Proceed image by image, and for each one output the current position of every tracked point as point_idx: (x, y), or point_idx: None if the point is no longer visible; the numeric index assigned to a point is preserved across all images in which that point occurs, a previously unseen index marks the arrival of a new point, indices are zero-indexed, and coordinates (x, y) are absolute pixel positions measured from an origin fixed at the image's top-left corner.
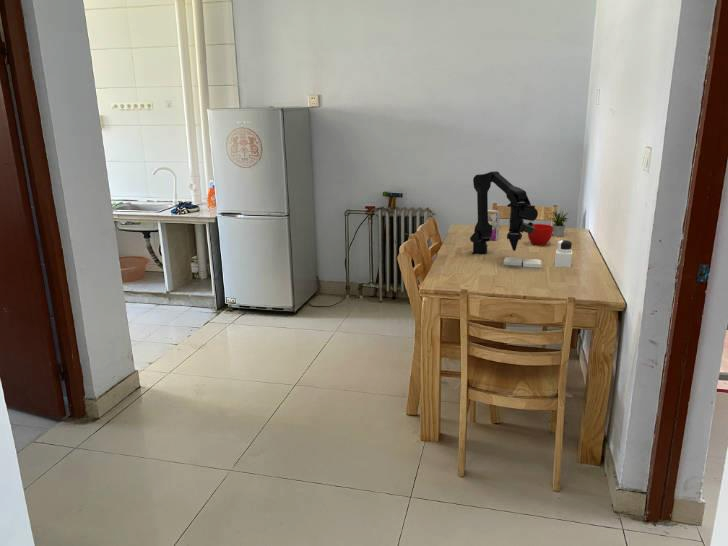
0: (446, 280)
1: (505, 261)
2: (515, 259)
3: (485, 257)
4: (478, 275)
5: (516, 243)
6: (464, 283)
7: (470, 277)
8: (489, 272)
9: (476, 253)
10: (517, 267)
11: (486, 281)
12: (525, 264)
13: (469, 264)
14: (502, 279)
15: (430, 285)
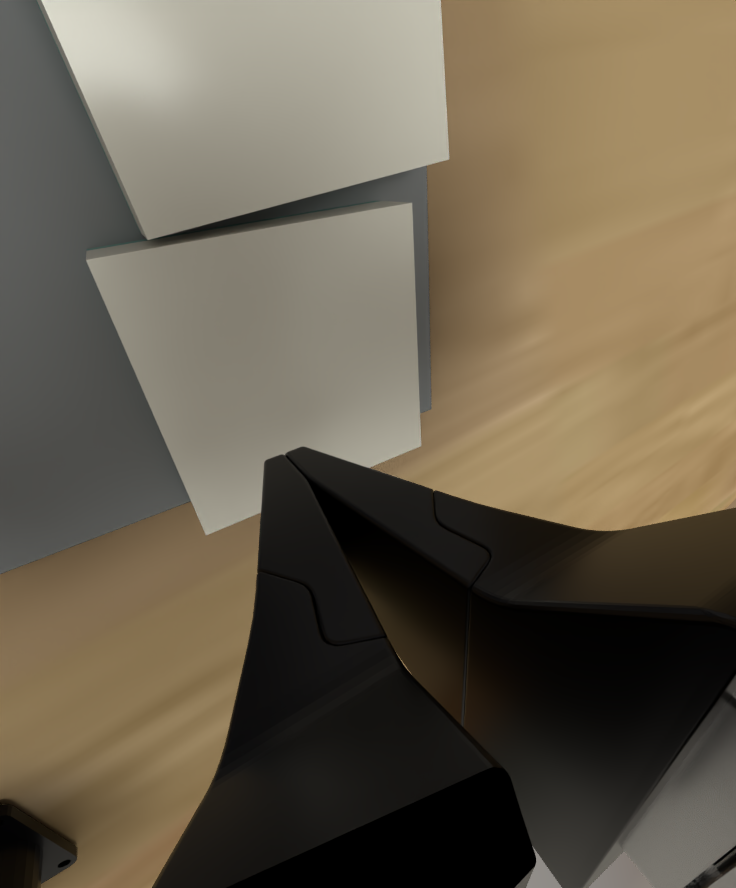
0: (674, 510)
1: (417, 428)
2: (277, 356)
3: (106, 729)
4: (621, 447)
5: (466, 517)
6: (718, 429)
7: (648, 459)
8: (565, 426)
9: (53, 848)
10: (427, 245)
11: (714, 353)
12: (435, 119)
13: None
14: (701, 274)
15: (713, 511)
